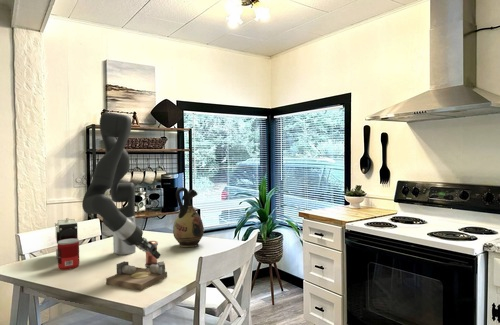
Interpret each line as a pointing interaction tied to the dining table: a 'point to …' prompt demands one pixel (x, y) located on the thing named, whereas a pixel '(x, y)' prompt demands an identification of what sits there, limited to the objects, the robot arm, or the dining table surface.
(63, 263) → the canned food
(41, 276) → the dining table surface
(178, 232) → the ceramic jug
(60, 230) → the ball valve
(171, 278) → the dining table surface
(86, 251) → the dining table surface
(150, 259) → the sleeve
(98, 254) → the dining table surface
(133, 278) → the shaft bench
